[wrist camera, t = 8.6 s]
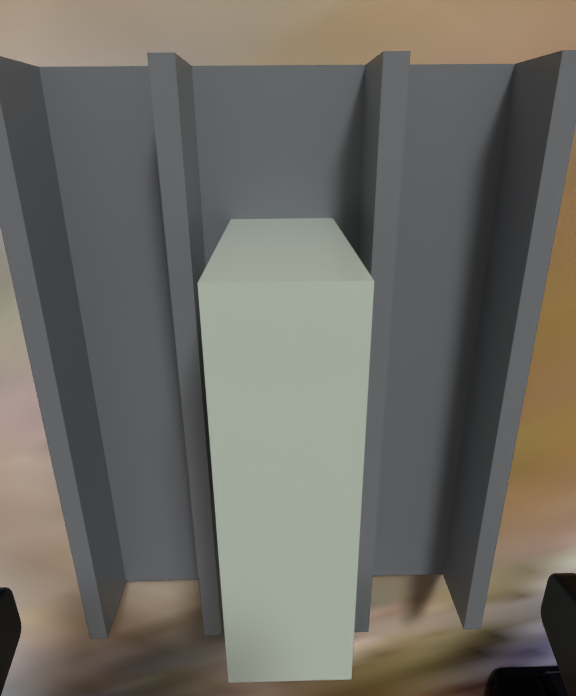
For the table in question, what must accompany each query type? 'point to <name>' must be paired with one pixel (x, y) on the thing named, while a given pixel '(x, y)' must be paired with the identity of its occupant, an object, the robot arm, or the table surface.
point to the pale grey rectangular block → (287, 441)
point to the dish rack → (281, 203)
